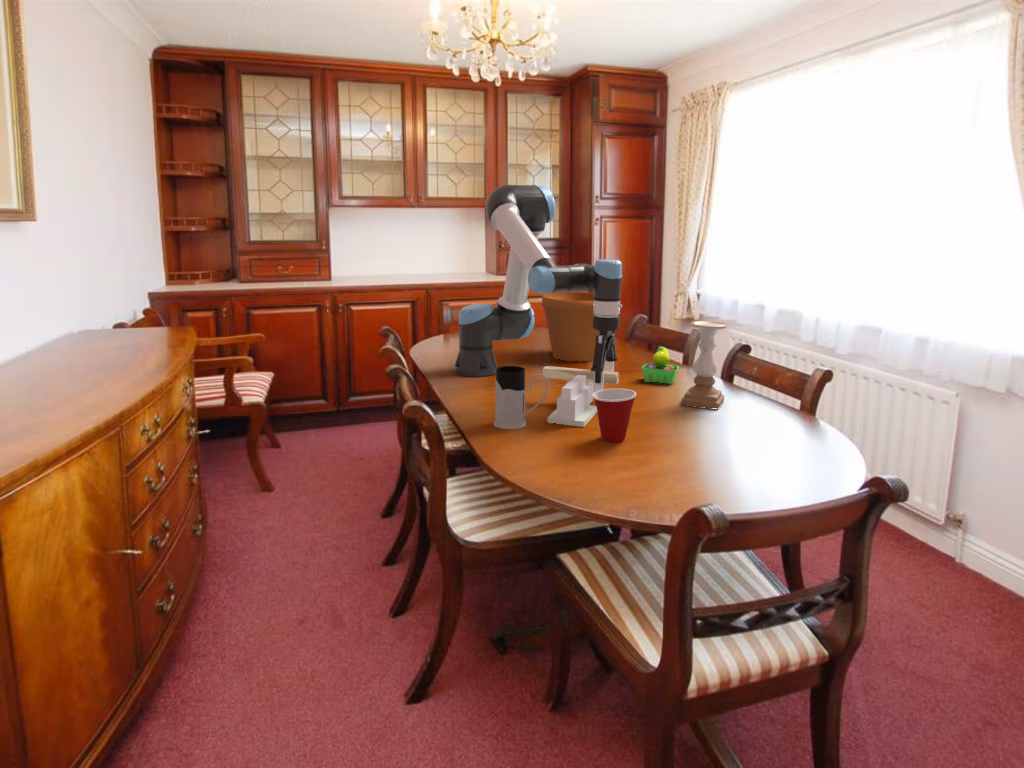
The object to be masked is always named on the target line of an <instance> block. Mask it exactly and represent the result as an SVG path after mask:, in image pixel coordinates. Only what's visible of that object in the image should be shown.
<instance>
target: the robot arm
mask: <svg viewBox="0 0 1024 768" xmlns="http://www.w3.org/2000/svg"><path fill="white" fill-rule="evenodd" d="M485 214H486V217H487V219H488V222H489V224H490V225H491V226H492V228H494V230H496V231H499V232H500V233H501V234H502V236H503V237H504V239H505V240H506V241H507V243H508V245H509V246H510V250H509V255H508V263H507V268H506V275H505V281H504V287H503V292H502V293H503V295H502V296H501V297H499V298H498V299H497V304H496V306H495V307H494V305H493V304H492V303H474V304H470V305H466V306H463V307H462V308H461V309H460V310H459V314H458V338H459V339H458V341H459V342H458V343H459V344H458V345H459V349H458V350H459V351H458V353H457V357H456V360H455V364H454V367H453V369H454V373H455V374H456V375H459V376H464V377H489V376H492V375H496V368H498V366H499V365H498V361H497V359H496V356H495V353H494V347H493V345H494V342H495V341H497V342H499V341H506V340H518V339H524V338H527V337H528V336H529V335H530V334H531V333H532V331H533V329H534V326H535V319H536V317H535V312H534V310H533V308H532V306H531V303H530V302H529V301H528V297H529V292H530V290H531V292H533V293H535V294H543V295H544V294H549V293H560V292H589V293H594V303H593V314H595V316H594V317H593V328H594V329H595V330H599V331H600V333H599V336H598V335H597V336H596V345H595V352H594V359H593V361H592V366H591V367H590V370H591V371H594V380H593V393H594V392H596V391H599V390H604V384H603V382H604V371H608V372H615V362H617V361H618V358H617V352H616V351H617V350H616V349H617V348H616V338H615V337H616V334H615V333H616V331H618V330H619V329H620V324H621V323H620V321H621V320H620V319H621V317H620V316H619V315H620V314H621V308H623V304H622V303H621V299H622V298H621V297H622V282H623V265H622V261H620V260H618V259H596V261H595V263H594V265H591V264H587V263H575V264H572V265H570V264H569V265H567V264H566V265H564V264H563V265H558V264H556V263H555V261H554V260H553V259H552V257H551V256H550V255H549V254H548V252H547V250H546V249H544V246H542V244H541V242H539V235H541V234H542V233H543V232H544V231H545V228H546V224H549V223H550V222H552V221H553V220H554V217H555V215H556V201H555V198H554V195H553V193H552V191H551V190H550V189H549V188H548V187H546V186H543V185H536V184H532V185H531V184H526V185H525V184H502V185H500V186H498V187H496V188H495V189H493V191H491V193H490V194H489V195H488V197H487V200H486V202H485Z"/></svg>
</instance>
